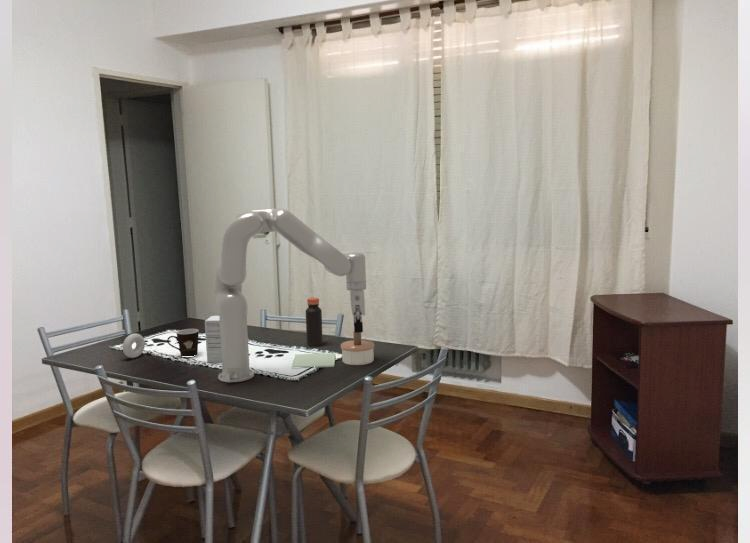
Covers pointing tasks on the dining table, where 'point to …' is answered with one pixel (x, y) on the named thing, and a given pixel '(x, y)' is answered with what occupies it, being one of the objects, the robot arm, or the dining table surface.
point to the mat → (314, 360)
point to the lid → (357, 344)
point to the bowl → (357, 357)
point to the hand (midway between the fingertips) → (358, 328)
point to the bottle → (314, 323)
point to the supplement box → (213, 339)
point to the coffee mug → (187, 342)
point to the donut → (138, 349)
